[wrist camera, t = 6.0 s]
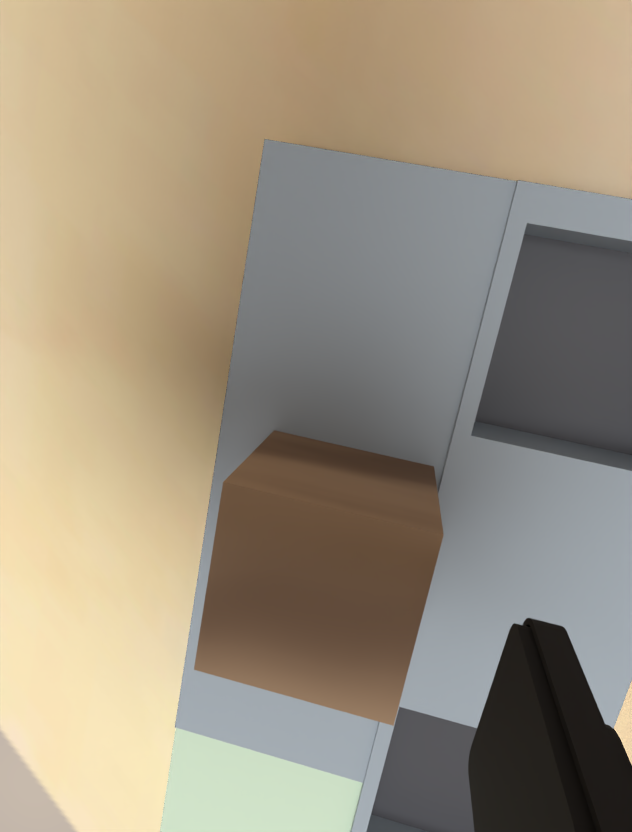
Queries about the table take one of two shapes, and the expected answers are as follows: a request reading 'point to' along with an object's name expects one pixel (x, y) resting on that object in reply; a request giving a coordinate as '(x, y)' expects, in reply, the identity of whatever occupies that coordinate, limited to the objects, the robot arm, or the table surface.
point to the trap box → (431, 445)
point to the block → (321, 574)
